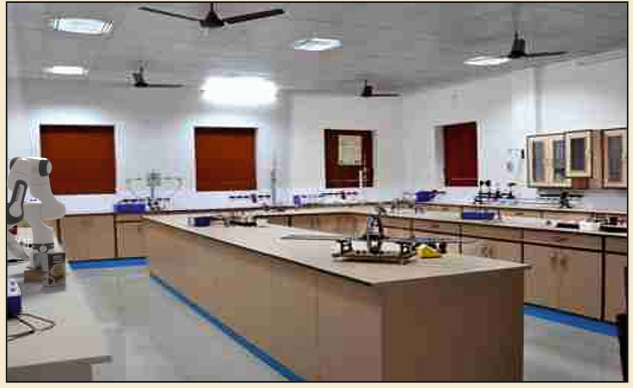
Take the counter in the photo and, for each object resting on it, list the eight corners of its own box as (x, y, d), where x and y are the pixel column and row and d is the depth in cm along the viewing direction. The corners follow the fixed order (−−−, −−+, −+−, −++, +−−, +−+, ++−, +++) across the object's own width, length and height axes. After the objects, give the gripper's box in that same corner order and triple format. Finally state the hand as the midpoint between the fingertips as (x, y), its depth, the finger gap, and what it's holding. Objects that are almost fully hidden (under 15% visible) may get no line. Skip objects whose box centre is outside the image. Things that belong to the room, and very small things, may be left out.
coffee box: (49, 287, 296) (48, 254, 295) (42, 285, 299) (41, 253, 299) (66, 284, 303) (66, 252, 302) (59, 282, 307) (59, 251, 306)
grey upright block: (33, 273, 317) (32, 252, 316) (45, 272, 319) (44, 252, 319) (33, 275, 312) (32, 254, 311) (45, 274, 314) (44, 253, 314)
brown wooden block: (24, 279, 317) (24, 267, 317) (53, 277, 323) (53, 266, 323) (24, 282, 307) (23, 270, 307) (54, 280, 313) (53, 269, 313)
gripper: (11, 239, 300) (33, 257, 304) (12, 235, 319) (33, 253, 323) (1, 248, 298) (23, 267, 303) (3, 244, 317) (24, 261, 321)
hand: (28, 259), depth 313 cm, fingers open, 8 cm apart
